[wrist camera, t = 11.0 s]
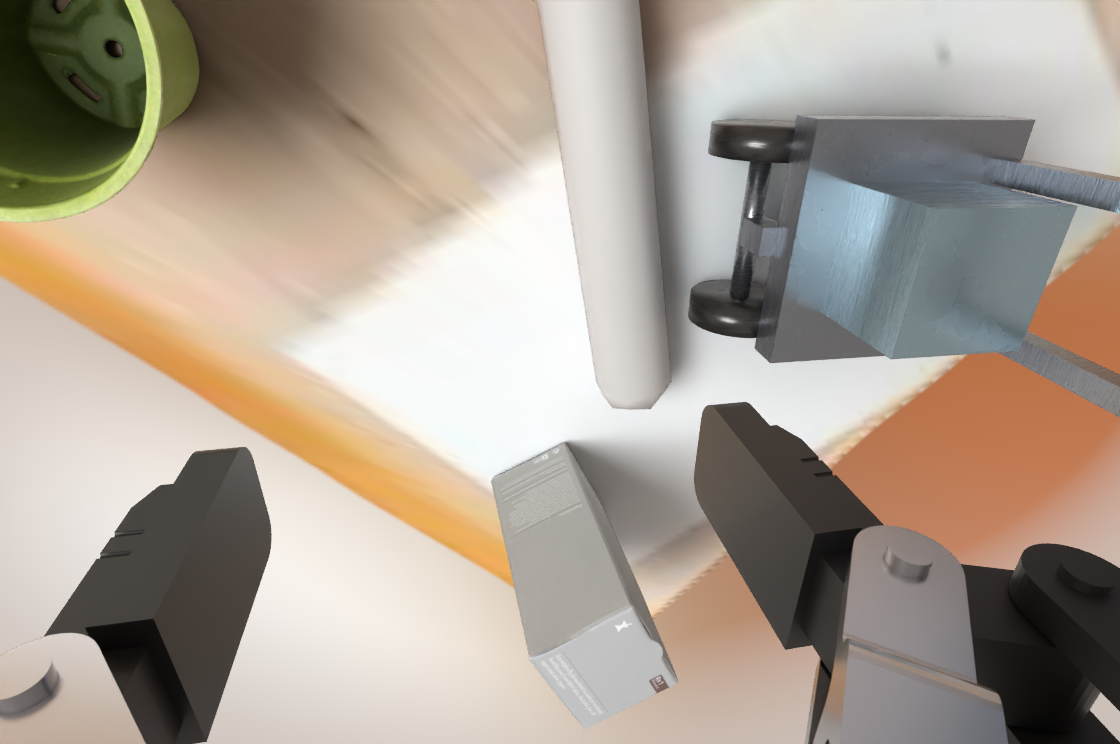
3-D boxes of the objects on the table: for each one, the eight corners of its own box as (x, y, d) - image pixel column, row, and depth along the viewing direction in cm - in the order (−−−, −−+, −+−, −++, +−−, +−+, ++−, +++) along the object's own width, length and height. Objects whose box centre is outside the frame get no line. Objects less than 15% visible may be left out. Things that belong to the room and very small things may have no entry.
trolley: (697, 106, 35) (993, 164, 16) (967, 108, 38) (1487, 160, 19) (674, 313, 41) (871, 533, 22) (909, 302, 44) (1262, 488, 25)
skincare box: (488, 475, 45) (509, 661, 31) (575, 434, 45) (635, 604, 31) (536, 547, 49) (573, 741, 35) (616, 510, 49) (685, 691, 35)
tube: (691, 404, 41) (661, -41, 28) (625, 435, 39) (562, -26, 27) (644, 374, 45) (601, -23, 33) (583, 402, 43) (512, -9, 31)
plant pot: (274, -25, 29) (189, -66, 20) (225, 205, 34) (135, 268, 24) (-23, -167, 26) (-315, -305, 16) (-36, 115, 30) (-271, 144, 20)
